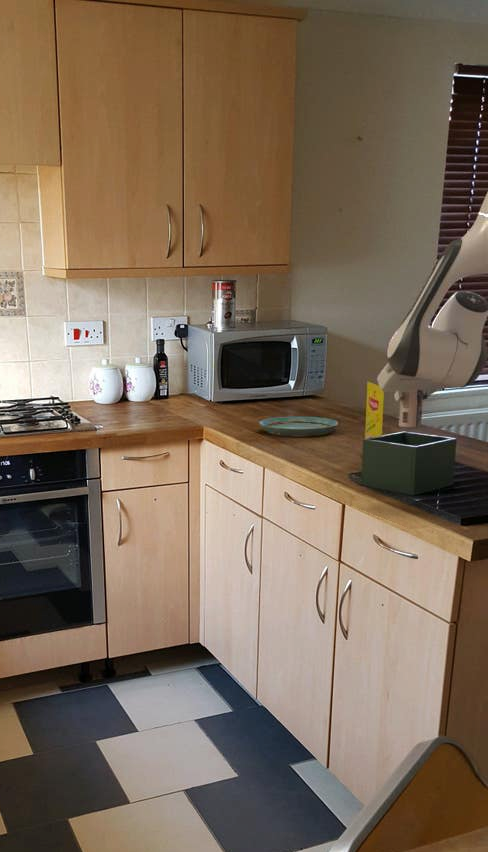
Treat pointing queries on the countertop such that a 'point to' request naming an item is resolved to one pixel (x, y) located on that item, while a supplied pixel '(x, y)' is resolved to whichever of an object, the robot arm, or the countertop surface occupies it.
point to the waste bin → (408, 462)
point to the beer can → (411, 409)
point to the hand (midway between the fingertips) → (410, 397)
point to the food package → (374, 411)
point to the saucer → (298, 426)
